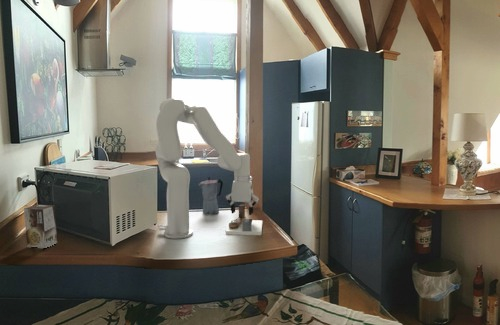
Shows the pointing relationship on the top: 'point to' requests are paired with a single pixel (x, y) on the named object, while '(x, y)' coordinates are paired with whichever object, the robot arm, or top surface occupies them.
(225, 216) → the top surface
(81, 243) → the top surface
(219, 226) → the top surface
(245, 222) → the keeper
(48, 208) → the coffee box
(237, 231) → the base plate
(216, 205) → the moka pot
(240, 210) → the walnut link
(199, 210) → the top surface
